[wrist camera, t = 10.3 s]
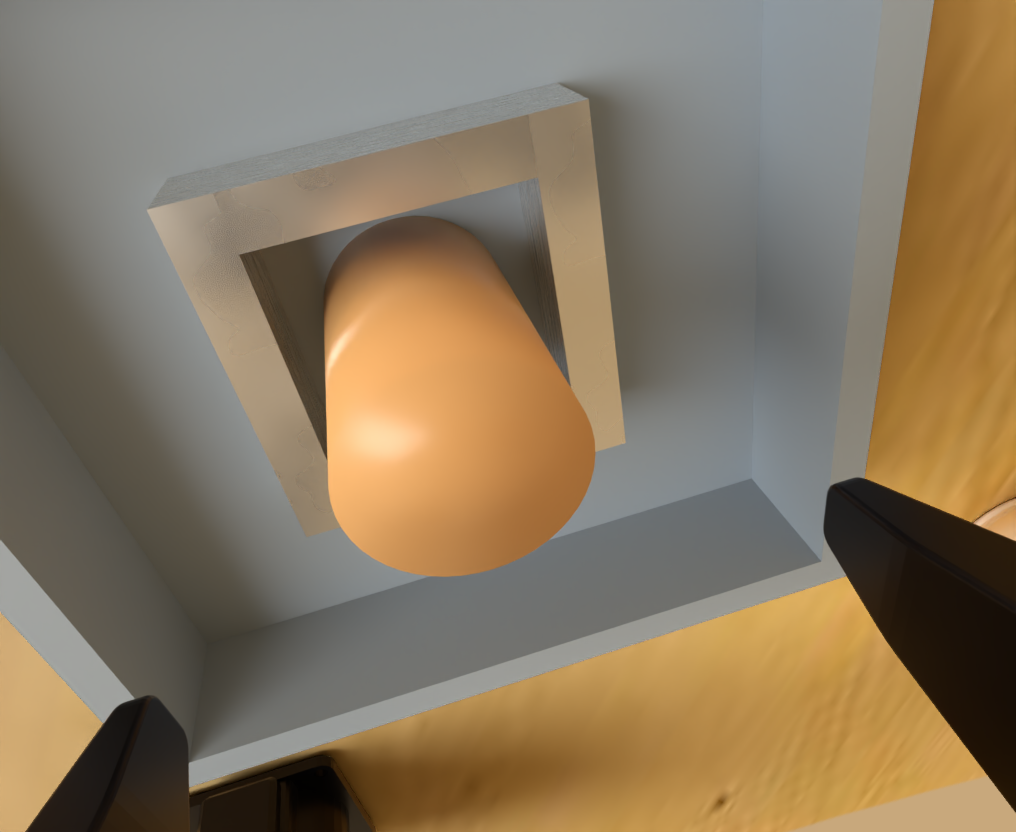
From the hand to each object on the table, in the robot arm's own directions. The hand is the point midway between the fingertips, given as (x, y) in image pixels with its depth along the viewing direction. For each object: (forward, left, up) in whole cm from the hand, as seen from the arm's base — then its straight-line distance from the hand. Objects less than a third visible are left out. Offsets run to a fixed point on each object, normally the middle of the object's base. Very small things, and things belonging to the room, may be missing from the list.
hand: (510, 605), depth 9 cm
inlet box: (0, 0, -11) cm, 11 cm away
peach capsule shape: (0, 0, -10) cm, 10 cm away
